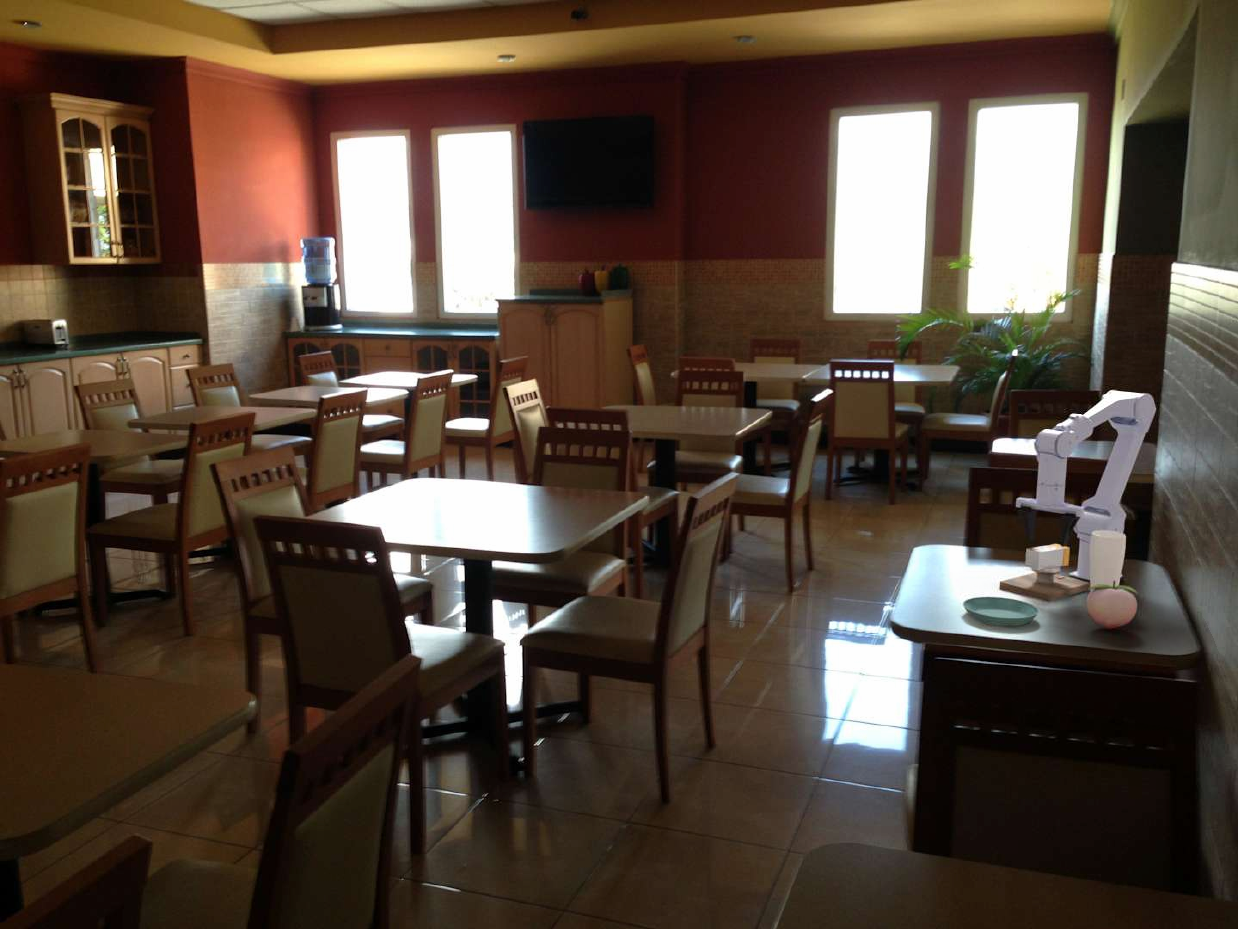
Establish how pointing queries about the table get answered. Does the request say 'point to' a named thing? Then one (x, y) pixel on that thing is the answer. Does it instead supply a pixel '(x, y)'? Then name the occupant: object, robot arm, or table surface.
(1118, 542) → the drinking glass
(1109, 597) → the decorative fruit
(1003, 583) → the mount plate
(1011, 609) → the saucer
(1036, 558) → the grey and orange block
